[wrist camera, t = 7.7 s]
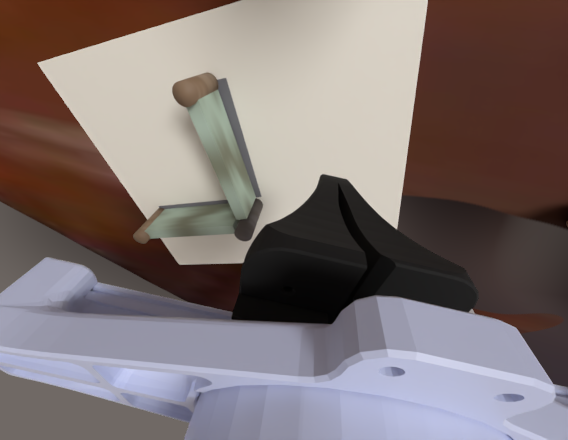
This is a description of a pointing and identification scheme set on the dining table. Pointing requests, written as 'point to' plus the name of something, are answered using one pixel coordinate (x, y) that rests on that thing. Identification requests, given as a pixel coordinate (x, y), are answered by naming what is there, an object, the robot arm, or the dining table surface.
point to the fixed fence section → (199, 222)
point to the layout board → (255, 106)
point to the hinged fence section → (217, 139)
